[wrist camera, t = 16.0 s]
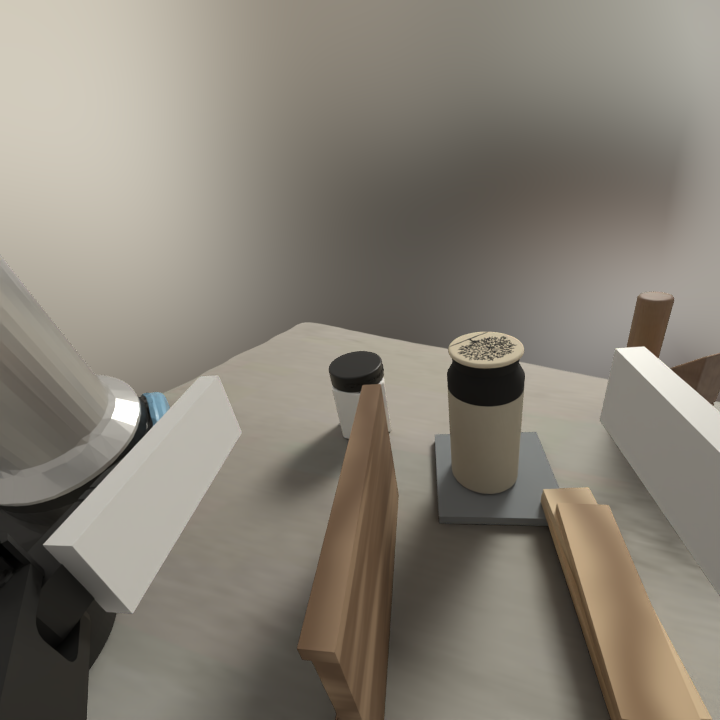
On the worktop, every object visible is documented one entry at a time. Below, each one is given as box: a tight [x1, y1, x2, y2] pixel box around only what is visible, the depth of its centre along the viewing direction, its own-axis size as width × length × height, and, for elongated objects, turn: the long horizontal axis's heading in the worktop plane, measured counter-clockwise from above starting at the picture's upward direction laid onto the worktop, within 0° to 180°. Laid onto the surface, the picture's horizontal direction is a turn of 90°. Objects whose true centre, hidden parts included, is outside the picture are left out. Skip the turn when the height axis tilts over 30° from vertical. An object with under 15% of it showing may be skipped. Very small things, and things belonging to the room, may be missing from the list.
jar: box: [329, 351, 391, 439], centre depth 57 cm, size 9×8×12 cm
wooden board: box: [297, 384, 399, 720], centre depth 33 cm, size 4×24×17 cm, turn 171°
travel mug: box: [447, 332, 525, 494], centre depth 42 cm, size 8×8×18 cm
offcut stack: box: [541, 487, 712, 720], centre depth 31 cm, size 6×20×4 cm, turn 172°
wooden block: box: [627, 292, 720, 406], centre depth 46 cm, size 4×11×18 cm, turn 11°
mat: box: [435, 432, 559, 526], centre depth 46 cm, size 14×14×1 cm
